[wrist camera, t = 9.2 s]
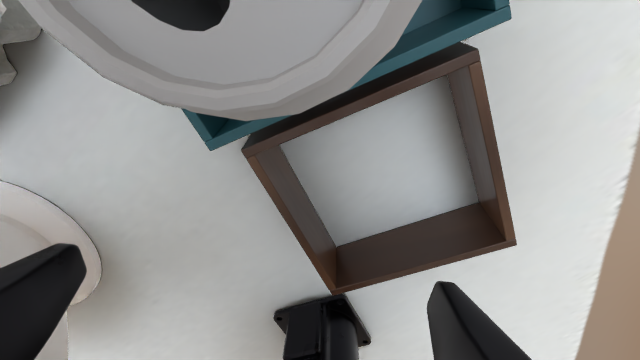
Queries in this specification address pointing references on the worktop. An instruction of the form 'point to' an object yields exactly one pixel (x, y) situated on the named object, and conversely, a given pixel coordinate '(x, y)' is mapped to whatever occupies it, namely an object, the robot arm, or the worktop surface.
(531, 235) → the worktop surface
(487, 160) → the walnut frame
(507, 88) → the worktop surface
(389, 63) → the teal tote
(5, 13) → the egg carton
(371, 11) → the can
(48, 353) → the decorative vase
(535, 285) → the worktop surface
